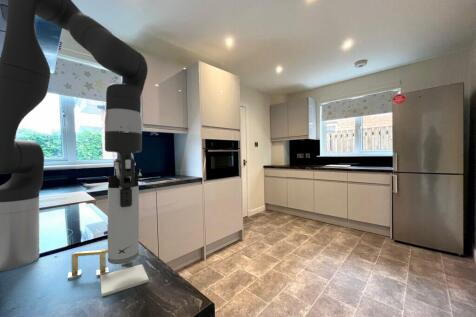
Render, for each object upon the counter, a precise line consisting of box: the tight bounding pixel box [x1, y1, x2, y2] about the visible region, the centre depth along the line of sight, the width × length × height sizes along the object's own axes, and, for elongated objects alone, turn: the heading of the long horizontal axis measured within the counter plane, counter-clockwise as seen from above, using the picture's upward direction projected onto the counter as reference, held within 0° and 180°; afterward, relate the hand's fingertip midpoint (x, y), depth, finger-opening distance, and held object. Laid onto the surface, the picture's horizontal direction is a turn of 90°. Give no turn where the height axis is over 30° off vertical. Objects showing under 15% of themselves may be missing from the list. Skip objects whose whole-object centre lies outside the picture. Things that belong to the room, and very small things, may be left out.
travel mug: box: [107, 171, 140, 265], centre depth 48 cm, size 6×7×20 cm
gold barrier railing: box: [67, 247, 133, 281], centre depth 51 cm, size 13×5×6 cm, turn 125°
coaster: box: [99, 263, 150, 298], centre depth 48 cm, size 9×8×1 cm
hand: (124, 203), depth 48 cm, fingers closed on travel mug, 6 cm apart
